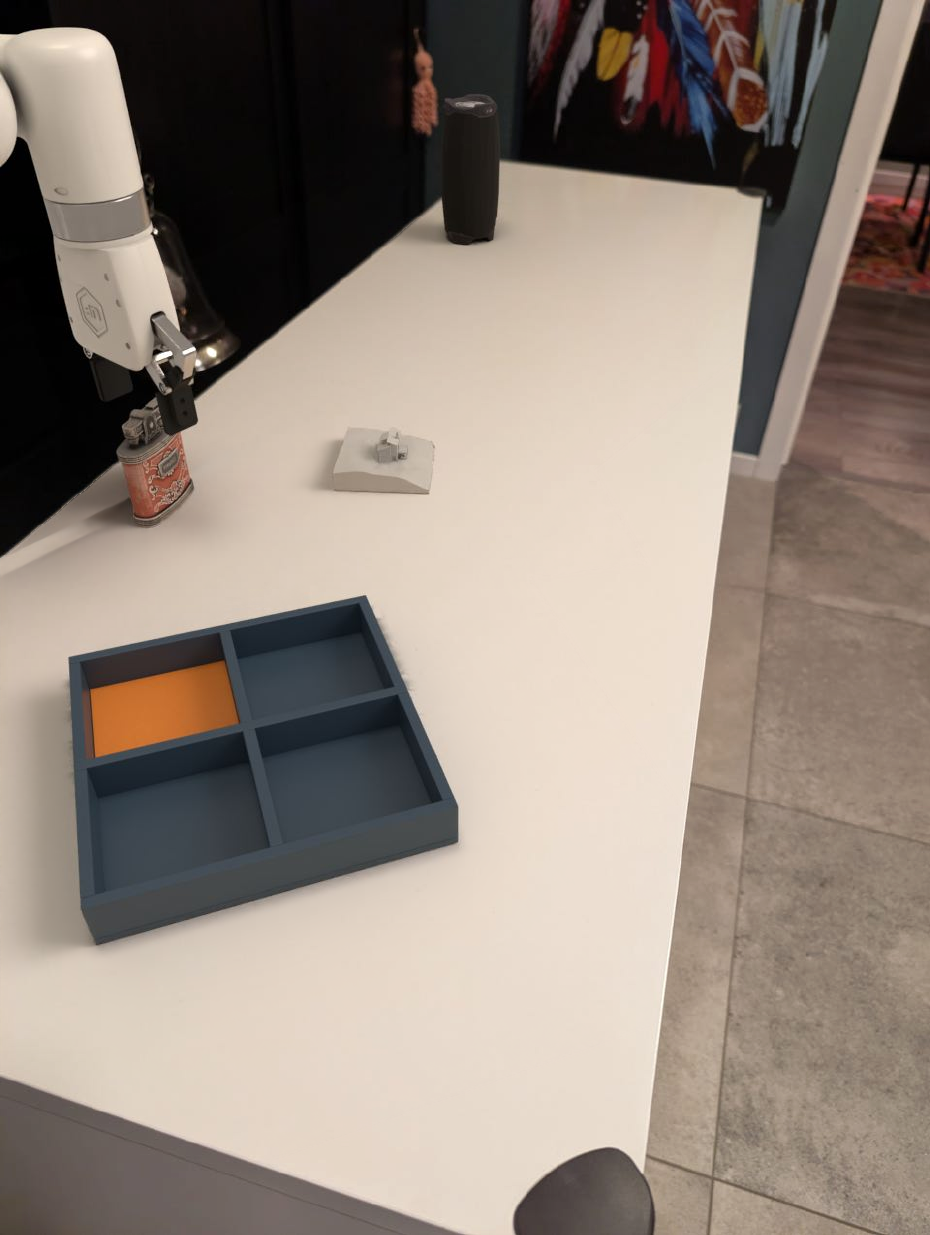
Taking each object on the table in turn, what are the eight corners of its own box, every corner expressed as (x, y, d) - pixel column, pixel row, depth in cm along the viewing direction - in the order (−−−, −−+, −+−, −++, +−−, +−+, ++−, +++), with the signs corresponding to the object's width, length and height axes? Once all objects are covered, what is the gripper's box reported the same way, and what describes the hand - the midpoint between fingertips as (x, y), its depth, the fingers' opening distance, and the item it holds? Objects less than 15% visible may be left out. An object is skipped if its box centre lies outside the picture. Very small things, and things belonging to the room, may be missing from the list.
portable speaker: (433, 243, 150) (431, 103, 137) (455, 225, 156) (455, 90, 144) (485, 249, 147) (487, 108, 135) (505, 231, 154) (509, 95, 141)
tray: (80, 692, 72) (68, 656, 70) (368, 629, 78) (366, 594, 76) (95, 945, 56) (80, 910, 54) (458, 842, 62) (458, 806, 59)
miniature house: (450, 491, 94) (450, 457, 92) (336, 503, 92) (333, 469, 90) (429, 432, 103) (429, 400, 101) (325, 442, 101) (321, 410, 99)
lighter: (157, 530, 89) (134, 433, 82) (126, 523, 90) (100, 427, 83) (202, 486, 95) (183, 392, 88) (171, 480, 95) (151, 387, 89)
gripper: (-2, 204, 77) (58, 398, 88) (122, 252, 68) (172, 460, 79) (80, 183, 81) (128, 370, 93) (207, 224, 73) (243, 426, 84)
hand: (148, 412), depth 86 cm, fingers open, 9 cm apart
